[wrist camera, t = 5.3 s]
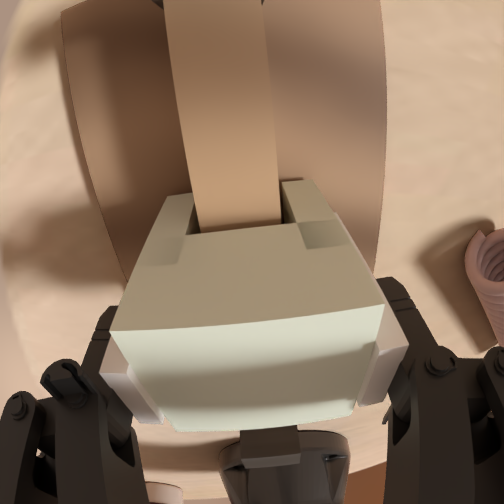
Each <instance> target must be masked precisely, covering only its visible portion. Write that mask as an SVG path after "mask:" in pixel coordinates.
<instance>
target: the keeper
mask: <svg viewBox="0 0 504 504" xmlns="http://www.w3.org/2000/svg"><path fill="white" fill-rule="evenodd" d="M282 195H283V212H284V224H281V225H272V226H262V227H253V228H244V229H235V230H227V231H218V232H210V233H201V230H200V226H199V221H198V216H197V211H196V206H195V201H194V196H193V193H186V194H179V195H172V196H167V198H166V200H165V202H164V204H163V206H162V208H161V210H160V212H159V214H158V216H157V219H156V221H155V223H154V225H153V227H152V229H151V231H150V233H149V236H148V238H147V240H146V242H145V244H144V247H143V249H142V251H141V253H140V256H139V258H138V260H137V262H136V265H135V267H134V269H133V272H132V274H131V276H130V279H129V281H128V284H127V286H126V289H125V291H124V294H123V296H122V299H121V301H120V304H119V306H118V309H117V311H116V314H115V317H114V319H113V322H112V325H111V327H110V330H109V332H110V334H111V335H112V337H113V339H114V341H115V342H116V344H117V346H118V347H119V349H120V351H121V352H122V354H123V356H124V357H125V359H126V360H127V362H128V364H130V366H131V368H132V369H133V371H134V372H135V374H136V376H137V377H138V379H139V380H140V382H141V383H142V385H143V386H144V388H145V389H146V391H147V392H148V394H149V395H150V397H151V398H152V399H153V401H154V402H155V404H156V405H157V406H158V408H159V409H160V411H161V412H162V413H163V415H164V416H165V417H166V419H167V420H168V421H169V423H170V424H171V425H172V427H173V428H174V429H175V430H176V431H184V432H205V431H235V430H251V429H263V428H273V427H282V426H291V425H298V424H305V423H312V422H318V421H324V420H330V419H335V418H340V417H345V416H350V415H351V414H352V411H353V408H354V406H355V403H356V400H357V397H358V394H359V391H360V389H361V386H362V383H363V380H364V377H365V374H366V371H367V367H368V364H369V361H370V358H371V354H372V351H373V348H374V344H375V341H376V337H377V334H378V330H379V326H380V322H381V318H382V315H383V311H384V306H385V303H384V301H383V299H382V297H381V295H380V293H379V291H378V289H377V287H376V285H375V284H374V282H373V280H372V278H371V276H370V274H369V273H368V271H367V269H366V267H365V265H364V264H363V262H362V260H361V258H360V256H359V255H358V253H357V251H356V249H355V248H354V246H353V244H352V242H351V241H350V239H349V237H348V236H347V234H346V232H345V231H344V229H343V227H342V225H341V224H340V222H339V220H338V219H337V217H336V216H335V214H334V212H333V211H332V209H331V207H330V206H329V204H328V203H327V201H326V199H325V198H324V196H323V195H322V193H321V192H320V190H319V188H318V187H317V185H316V184H315V182H314V181H313V179H311V180H299V181H288V182H282Z"/></svg>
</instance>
